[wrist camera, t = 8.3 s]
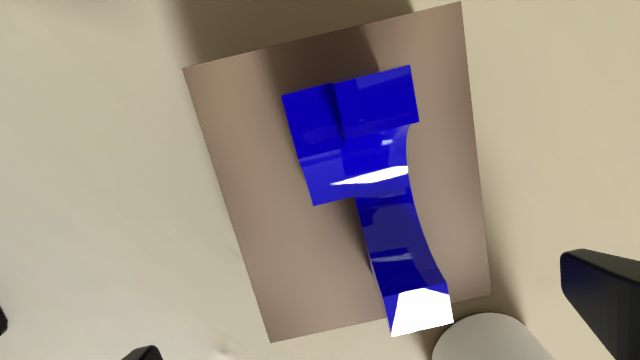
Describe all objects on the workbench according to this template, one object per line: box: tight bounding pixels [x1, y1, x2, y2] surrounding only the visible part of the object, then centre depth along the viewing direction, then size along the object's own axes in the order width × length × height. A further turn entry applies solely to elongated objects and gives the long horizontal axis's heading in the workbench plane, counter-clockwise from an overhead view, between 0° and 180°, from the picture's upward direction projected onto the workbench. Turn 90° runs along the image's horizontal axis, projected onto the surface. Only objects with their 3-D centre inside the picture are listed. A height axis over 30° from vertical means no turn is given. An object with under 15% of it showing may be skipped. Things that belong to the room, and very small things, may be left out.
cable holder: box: [281, 64, 454, 337], centre depth 12 cm, size 8×4×4 cm, turn 14°
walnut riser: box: [182, 1, 492, 343], centre depth 17 cm, size 10×12×5 cm
